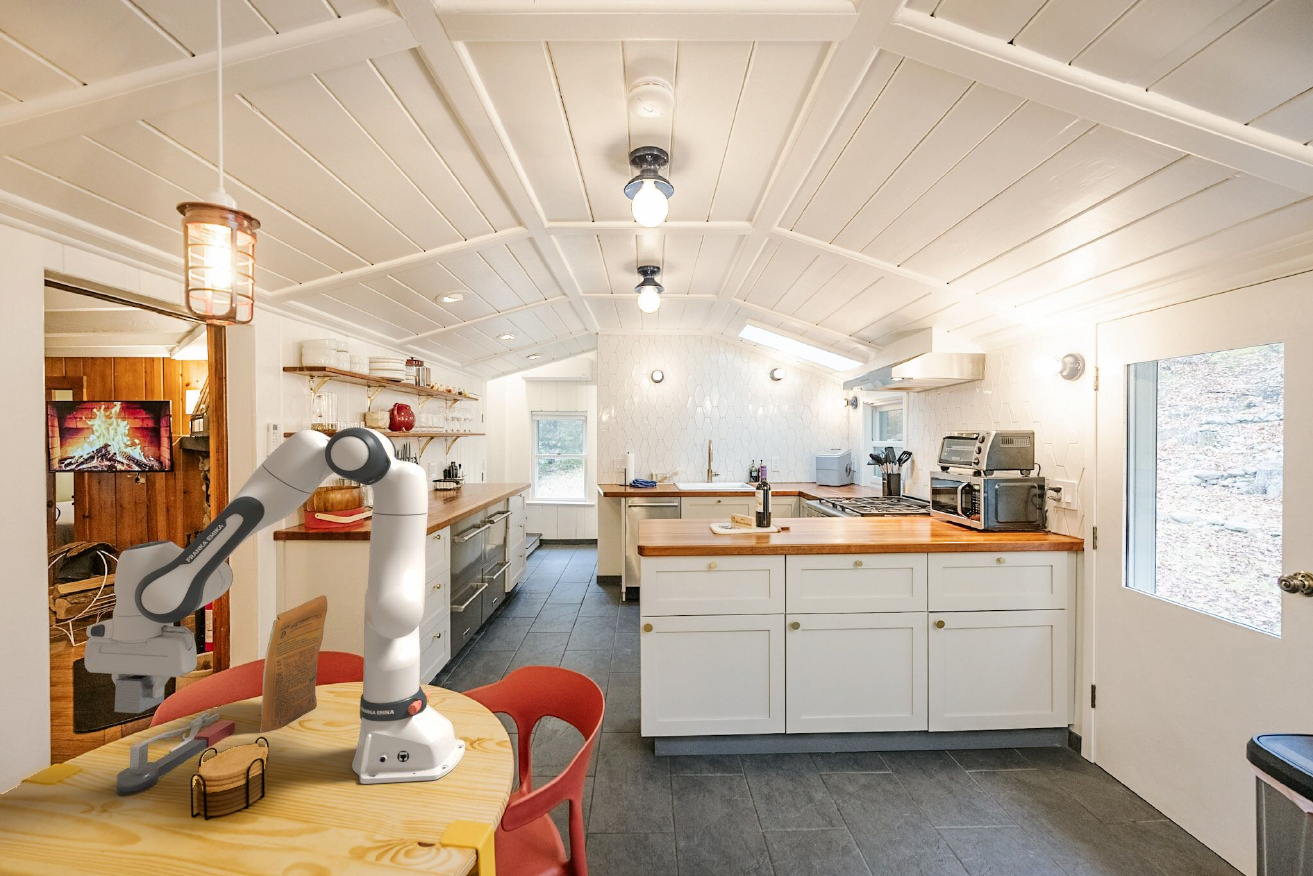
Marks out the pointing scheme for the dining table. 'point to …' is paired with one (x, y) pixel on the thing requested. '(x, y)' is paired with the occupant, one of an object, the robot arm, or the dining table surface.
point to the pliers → (194, 727)
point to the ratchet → (165, 759)
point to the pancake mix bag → (292, 664)
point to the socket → (135, 694)
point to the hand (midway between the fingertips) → (140, 695)
